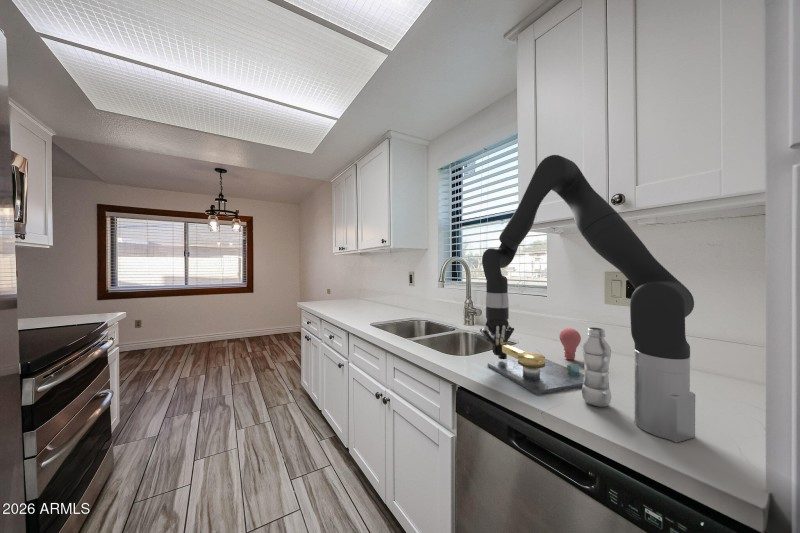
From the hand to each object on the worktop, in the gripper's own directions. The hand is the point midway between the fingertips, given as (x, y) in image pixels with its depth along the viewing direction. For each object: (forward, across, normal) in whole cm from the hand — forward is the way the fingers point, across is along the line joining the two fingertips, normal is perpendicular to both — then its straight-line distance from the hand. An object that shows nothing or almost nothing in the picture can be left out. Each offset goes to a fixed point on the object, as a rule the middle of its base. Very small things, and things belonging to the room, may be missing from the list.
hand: (497, 354), depth 101 cm
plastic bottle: (+6, +10, -28) cm, 31 cm away
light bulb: (+6, +33, 0) cm, 33 cm away
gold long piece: (+3, +5, -5) cm, 7 cm away
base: (+6, +10, -8) cm, 14 cm away
